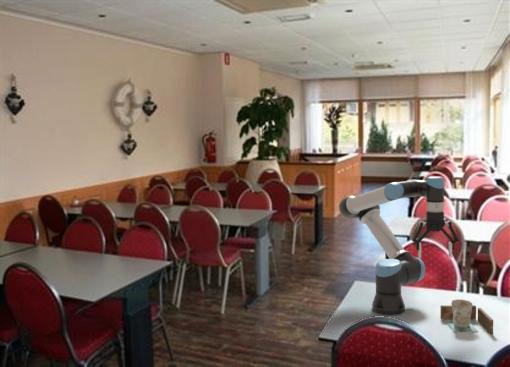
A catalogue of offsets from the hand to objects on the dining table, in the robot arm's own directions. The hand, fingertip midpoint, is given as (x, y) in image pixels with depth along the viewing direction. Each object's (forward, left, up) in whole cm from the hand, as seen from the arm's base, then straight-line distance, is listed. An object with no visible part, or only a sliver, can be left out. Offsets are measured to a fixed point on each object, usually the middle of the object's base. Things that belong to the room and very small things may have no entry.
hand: (434, 257), depth 222 cm
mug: (+6, -16, -27) cm, 32 cm away
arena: (+9, -14, -27) cm, 32 cm away
